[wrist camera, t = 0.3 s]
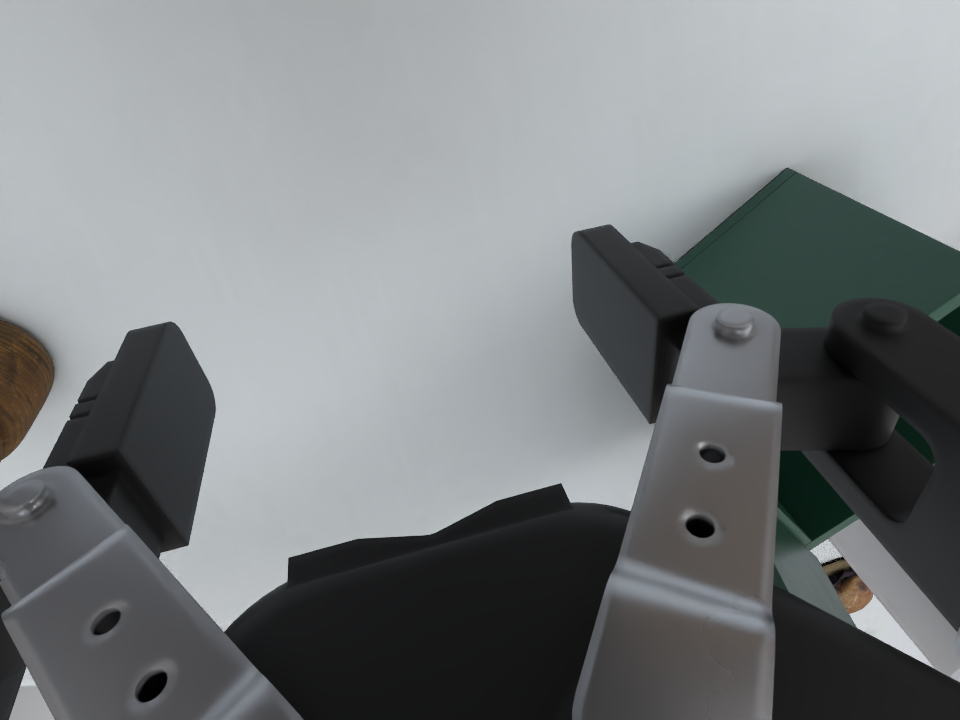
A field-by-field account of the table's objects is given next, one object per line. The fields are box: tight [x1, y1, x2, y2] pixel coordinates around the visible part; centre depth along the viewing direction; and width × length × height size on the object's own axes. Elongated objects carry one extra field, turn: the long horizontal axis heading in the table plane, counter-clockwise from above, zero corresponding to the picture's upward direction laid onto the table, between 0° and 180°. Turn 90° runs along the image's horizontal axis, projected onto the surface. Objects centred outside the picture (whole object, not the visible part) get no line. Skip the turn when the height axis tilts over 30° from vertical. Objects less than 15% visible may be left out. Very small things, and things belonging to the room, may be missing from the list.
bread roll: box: [823, 560, 873, 614], centre depth 66 cm, size 11×8×4 cm
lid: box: [773, 520, 857, 628], centre depth 25 cm, size 14×13×1 cm
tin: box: [674, 168, 960, 550], centre depth 33 cm, size 14×13×13 cm
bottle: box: [828, 519, 960, 682], centre depth 46 cm, size 5×5×25 cm
